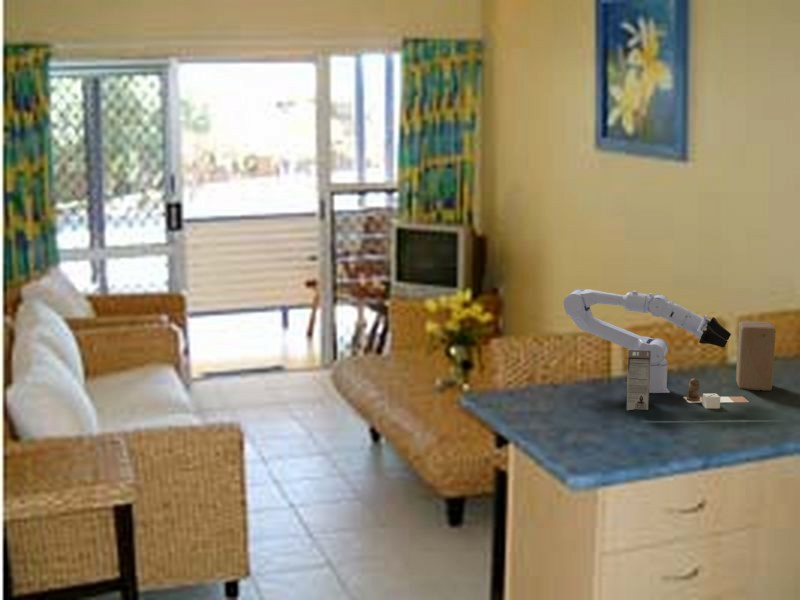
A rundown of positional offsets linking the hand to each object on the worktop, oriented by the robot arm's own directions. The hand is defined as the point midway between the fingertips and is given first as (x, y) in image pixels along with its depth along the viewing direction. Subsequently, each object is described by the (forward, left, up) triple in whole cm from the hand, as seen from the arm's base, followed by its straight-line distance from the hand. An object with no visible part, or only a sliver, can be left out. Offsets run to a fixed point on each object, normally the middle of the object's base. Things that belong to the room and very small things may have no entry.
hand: (727, 340), depth 334 cm
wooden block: (+13, +12, -18) cm, 25 cm away
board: (-4, -4, -18) cm, 18 cm away
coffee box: (-28, -9, -18) cm, 35 cm away
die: (-7, -11, -18) cm, 22 cm away
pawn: (-11, -4, -17) cm, 20 cm away
